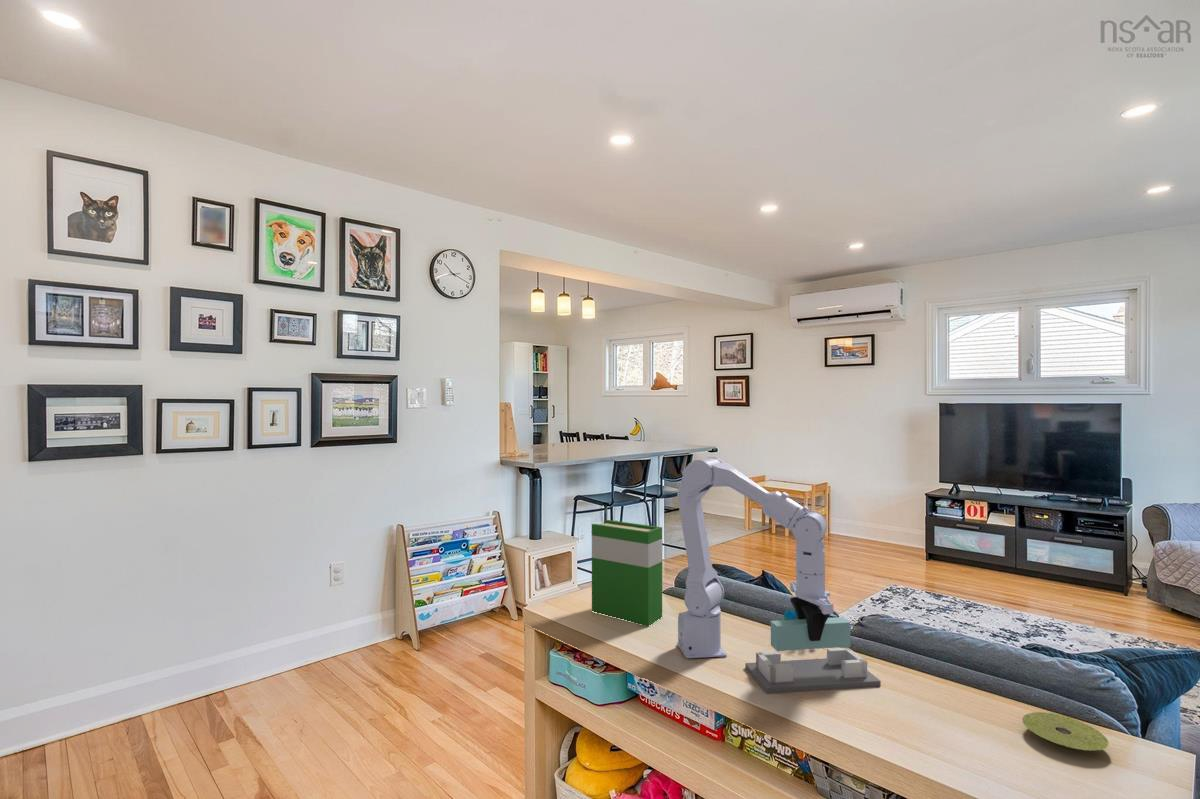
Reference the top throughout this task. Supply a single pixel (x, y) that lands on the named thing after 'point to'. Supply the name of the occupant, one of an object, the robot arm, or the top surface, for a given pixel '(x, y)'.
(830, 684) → the cradle
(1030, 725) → the mat
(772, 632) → the teal rectangular block
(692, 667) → the top surface
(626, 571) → the hardback book
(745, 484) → the robot arm
